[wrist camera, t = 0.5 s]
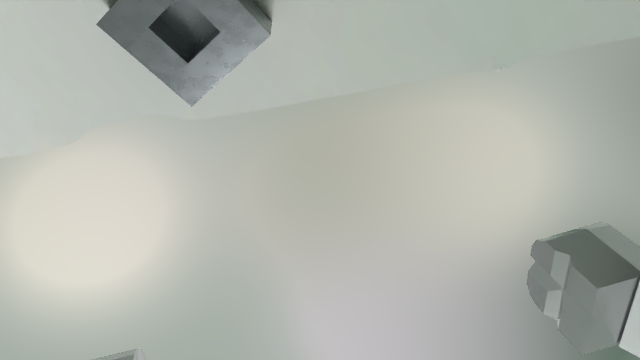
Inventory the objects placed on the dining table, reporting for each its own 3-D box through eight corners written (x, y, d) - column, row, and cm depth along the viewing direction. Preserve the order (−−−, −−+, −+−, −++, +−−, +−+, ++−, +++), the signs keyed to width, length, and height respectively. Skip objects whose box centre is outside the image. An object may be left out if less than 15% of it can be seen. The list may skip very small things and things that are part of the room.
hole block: (185, -73, 45) (176, -66, 41) (271, 21, 50) (270, 35, 47) (110, 11, 49) (96, 24, 45) (198, 89, 55) (191, 106, 51)
